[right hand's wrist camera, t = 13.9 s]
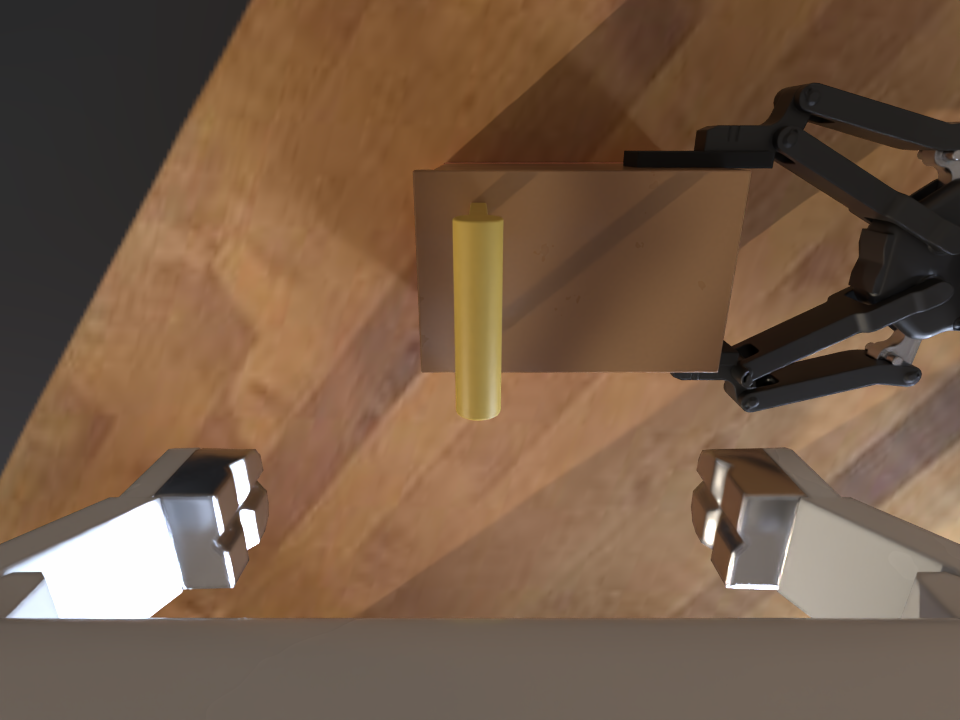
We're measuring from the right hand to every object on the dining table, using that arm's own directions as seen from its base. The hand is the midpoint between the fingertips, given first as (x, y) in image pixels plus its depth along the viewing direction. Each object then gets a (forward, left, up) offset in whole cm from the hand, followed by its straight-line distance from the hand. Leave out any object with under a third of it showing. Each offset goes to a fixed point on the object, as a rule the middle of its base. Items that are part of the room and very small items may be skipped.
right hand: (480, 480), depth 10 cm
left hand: (-3, -7, -20) cm, 22 cm away
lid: (-2, -4, -17) cm, 18 cm away
